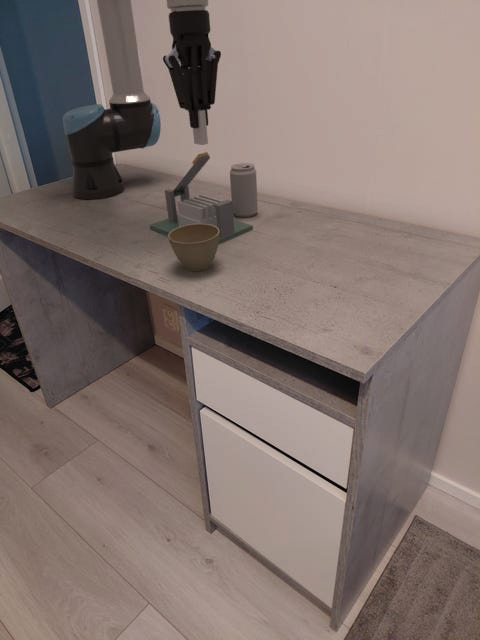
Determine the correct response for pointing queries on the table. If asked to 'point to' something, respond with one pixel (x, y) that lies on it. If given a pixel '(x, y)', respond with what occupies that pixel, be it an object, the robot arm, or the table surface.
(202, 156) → the grey long bar
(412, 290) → the table surface
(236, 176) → the beverage can
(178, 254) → the flower pot
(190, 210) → the board
